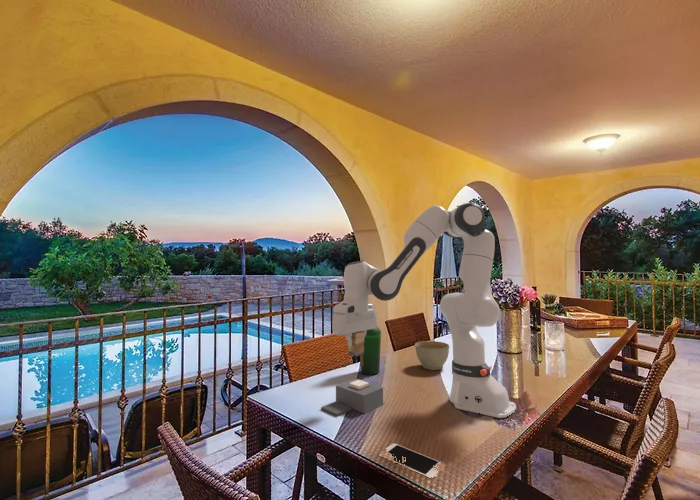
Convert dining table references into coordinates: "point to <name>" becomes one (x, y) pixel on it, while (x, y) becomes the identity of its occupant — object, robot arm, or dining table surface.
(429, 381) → the dining table surface
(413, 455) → the cell phone
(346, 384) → the block
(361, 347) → the tan wooden block
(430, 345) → the planter bowl
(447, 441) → the dining table surface
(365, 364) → the bottle
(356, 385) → the button
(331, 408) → the mat
